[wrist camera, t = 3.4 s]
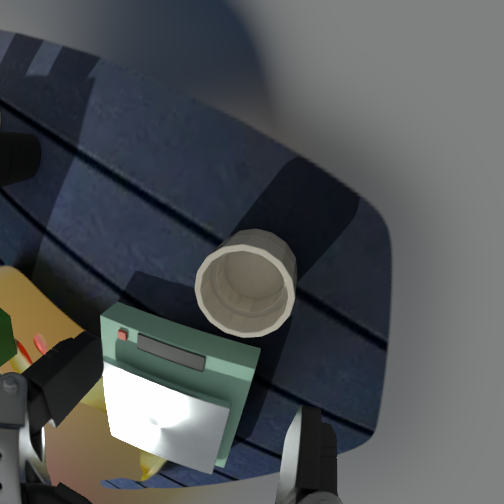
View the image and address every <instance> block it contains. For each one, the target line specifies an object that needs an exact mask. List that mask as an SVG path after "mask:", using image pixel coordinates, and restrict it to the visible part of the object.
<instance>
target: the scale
mask: <svg viewBox="0 0 504 504" xmlns="http://www.w3.org/2000/svg"><path fill="white" fill-rule="evenodd" d="M100 318H101V338H102V348H103V357H104V356H105V355H106V356H108V357H110V358H112V359H114V360H117V361H119V362H121V363H123V364H126V365H128V366H130V367H133V368H135V369H137V370H140V371H142V372H145V373H147V374H150V375H152V376H155V377H157V378H160V379H162V380H165V381H168V382H170V383H173V384H176V385H179V386H181V387H184V388H187V389H190V390H193V391H196V392H199V393H202V394H205V395H208V396H211V397H214V398H217V399H221V400H224V401H227V402H231V403H232V406H231V409H230V413H229V417H228V420H227V424H226V428H225V431H224V435H223V438H222V442H221V445H220V449H219V453H218V456H217V460H216V463H215V465H216V466H219V467H223V468H224V466H225V463H226V460H227V457H228V454H229V451H230V448H231V445H232V442H233V439H234V436H235V433H236V430H237V427H238V424H239V421H240V417H241V414H242V411H243V408H244V405H245V401H246V398H247V395H248V392H249V389H250V385H251V382H252V379H253V375H254V372H255V369H256V365H257V362H258V358H259V355H260V351H261V348H257V347H254V346H250V345H246V344H243V343H239V342H236V341H232V340H229V339H226V338H222V337H219V336H216V335H212V334H209V333H206V332H203V331H200V330H197V329H193V328H190V327H187V326H184V325H181V324H178V323H175V322H172V321H169V320H167V319H164V318H161V317H158V316H155V315H152V314H150V313H147V312H144V311H141V310H139V309H136V308H133V307H131V306H128V305H125V304H123V303H120V302H116V303H115V304H114V305H113V306H111V307H110V308H109V309H108V310H106V311H105V312H104V313H102V314H101V315H100Z"/></svg>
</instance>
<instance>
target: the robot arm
mask: <svg viewBox="0 0 504 504" xmlns="http://www.w3.org/2000/svg"><path fill="white" fill-rule="evenodd" d="M103 370H104V360H103V348H102V340H101V338H99V337H97V336H95V335H92V334H90V333H88V332H86V331H83V332H82V333H80V334H79V335H78V336H77V337H75V338H74V339H73V338H68V339H66V340H63V341H60V342H59V343H58V344H56V345H55V346H54V347H53V348H52V350H51V349H50V350H49V351H48V352H47V353H46V355H43V356H42V357H41V358H40V359H38V360H37V361H36V362H35V363H33V364H32V365H31V366H30V367H29V368H27V369H26V370H25V371H24V372H23V373H21V374H19V373H15V372H9V373H5V374H3V375H1V376H0V504H92V503H91V502H90V501H89V500H88V499H87V498H85V497H84V496H82V495H80V494H78V493H77V492H75V491H74V490H72V489H70V488H69V487H67V486H66V485H64V484H62V483H61V482H60V483H59V484H58V485H57V487H56V486H52V485H51V480H50V477H49V474H48V471H47V466H46V455H45V431H44V425H45V424H46V423H47V422H48V423H50V424H51V425H53V426H54V427H56V428H57V426H58V425H59V424H60V423H61V422H62V421H63V420H64V419H65V417H66V416H67V415H68V414H69V413H70V412H71V411H72V409H73V408H74V407H75V406H76V405H77V404H78V403H79V402H80V400H81V399H82V398H83V397H84V396H85V395H86V394H87V393H88V392H89V390H90V389H91V388H92V387H93V386H94V385H95V384H96V383H97V382H98V380H99V379H100V378H101V376H102V374H103ZM336 447H337V440H336V434H335V432H334V430H333V428H332V426H331V424H326V423H321V409H319V408H314V407H309V406H304V405H300V407H299V409H298V411H297V413H296V415H295V417H294V419H293V421H292V423H291V425H290V427H289V429H288V432H287V435H286V438H285V442H284V449H283V456H282V463H281V470H280V476H279V482H278V489H277V495H276V501H275V504H343V503H342V501H341V500H340V499H339V497H338V494H337V458H336V457H337V449H336Z"/></svg>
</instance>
